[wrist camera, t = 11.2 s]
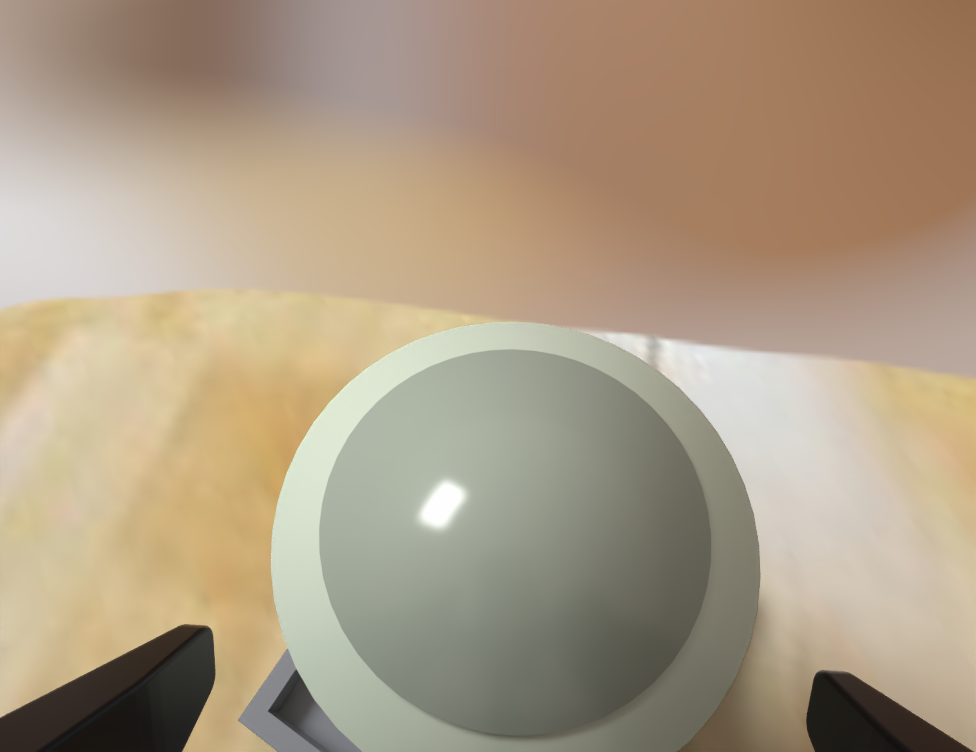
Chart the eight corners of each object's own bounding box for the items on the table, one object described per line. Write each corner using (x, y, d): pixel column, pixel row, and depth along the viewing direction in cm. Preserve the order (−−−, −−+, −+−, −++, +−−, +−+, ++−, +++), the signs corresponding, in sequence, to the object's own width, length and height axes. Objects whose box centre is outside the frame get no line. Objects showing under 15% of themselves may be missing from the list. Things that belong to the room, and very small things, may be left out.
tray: (716, 581, 20) (732, 570, 18) (584, 975, 14) (593, 998, 13) (446, 439, 23) (443, 422, 21) (256, 721, 17) (237, 720, 16)
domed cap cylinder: (632, 669, 18) (871, 559, 7) (478, 810, 16) (449, 991, 5) (516, 518, 20) (546, 261, 9) (372, 624, 18) (192, 458, 7)
